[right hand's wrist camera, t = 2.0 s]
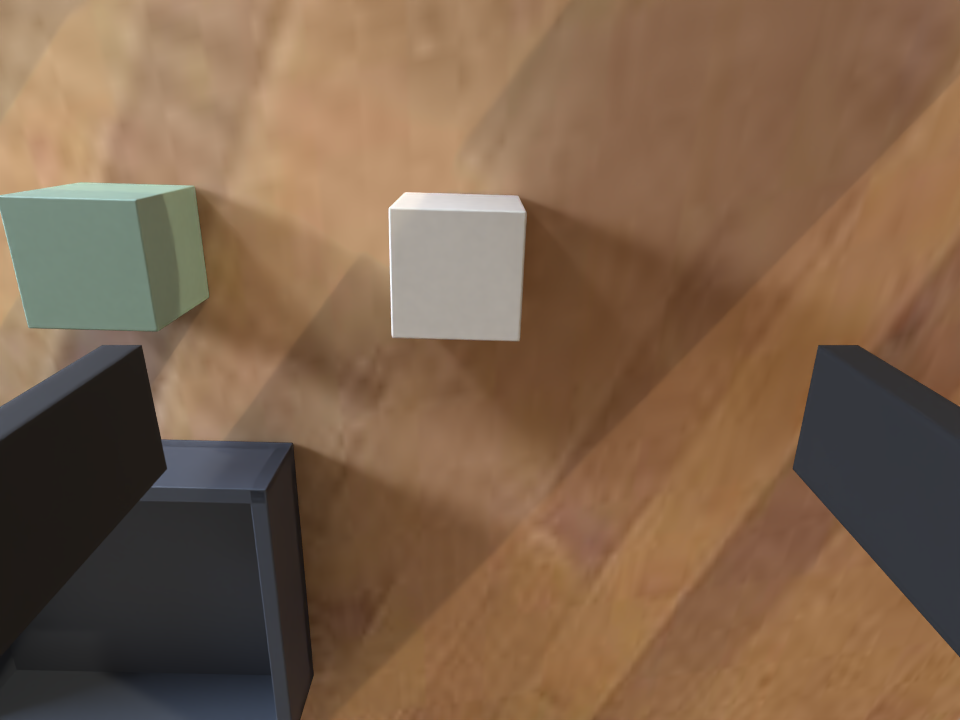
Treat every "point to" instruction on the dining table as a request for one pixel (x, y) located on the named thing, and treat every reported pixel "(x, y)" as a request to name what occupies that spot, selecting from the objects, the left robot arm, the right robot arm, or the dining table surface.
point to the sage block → (106, 255)
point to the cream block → (457, 266)
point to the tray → (180, 603)
